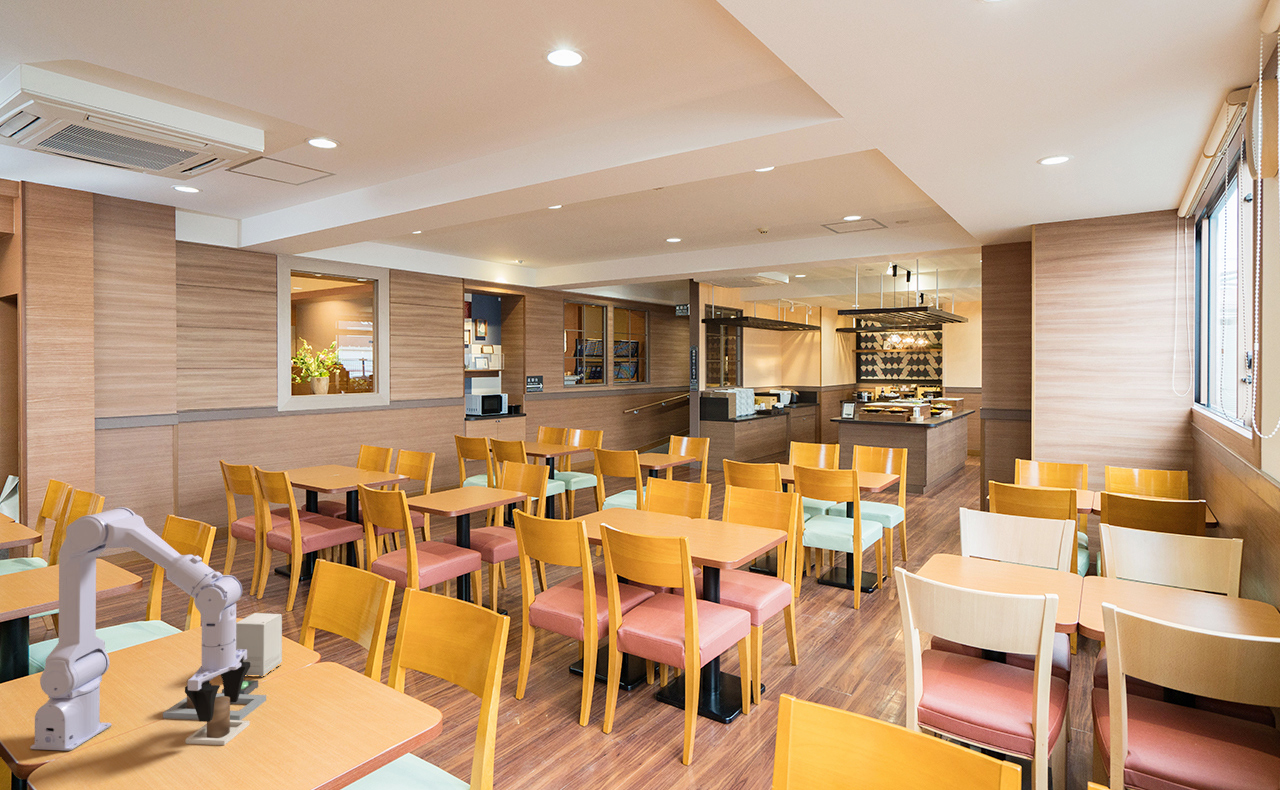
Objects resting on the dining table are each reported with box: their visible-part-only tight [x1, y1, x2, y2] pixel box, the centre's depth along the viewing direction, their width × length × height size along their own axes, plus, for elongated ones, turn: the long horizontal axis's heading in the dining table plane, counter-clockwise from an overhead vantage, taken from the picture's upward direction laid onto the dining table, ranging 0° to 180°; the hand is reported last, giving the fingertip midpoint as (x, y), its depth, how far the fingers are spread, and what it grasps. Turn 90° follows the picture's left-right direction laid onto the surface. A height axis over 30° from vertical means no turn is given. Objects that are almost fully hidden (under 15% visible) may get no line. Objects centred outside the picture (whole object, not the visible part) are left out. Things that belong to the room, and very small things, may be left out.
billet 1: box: [186, 678, 195, 709], centre depth 141 cm, size 4×4×6 cm
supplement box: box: [236, 612, 283, 676], centre depth 160 cm, size 7×7×13 cm
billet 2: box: [206, 696, 231, 738], centre depth 131 cm, size 4×4×6 cm
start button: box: [241, 681, 248, 689], centre depth 149 cm, size 3×3×2 cm
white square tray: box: [184, 719, 251, 746], centre depth 131 cm, size 8×8×1 cm
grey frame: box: [162, 692, 267, 721], centre depth 141 cm, size 9×16×2 cm, turn 88°
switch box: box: [221, 679, 259, 694], centre depth 149 cm, size 5×5×2 cm
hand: (218, 710), depth 131 cm, fingers open, 7 cm apart
